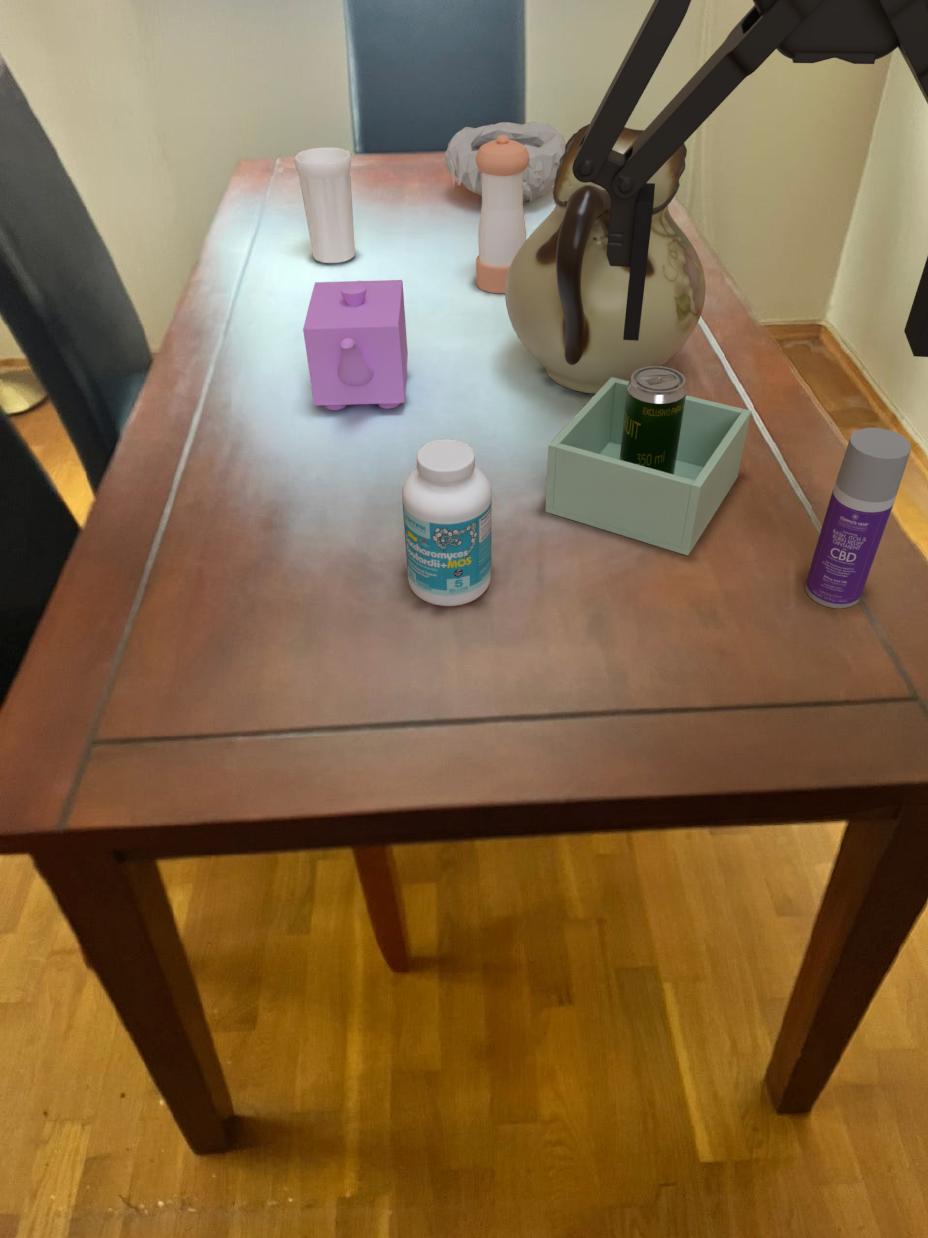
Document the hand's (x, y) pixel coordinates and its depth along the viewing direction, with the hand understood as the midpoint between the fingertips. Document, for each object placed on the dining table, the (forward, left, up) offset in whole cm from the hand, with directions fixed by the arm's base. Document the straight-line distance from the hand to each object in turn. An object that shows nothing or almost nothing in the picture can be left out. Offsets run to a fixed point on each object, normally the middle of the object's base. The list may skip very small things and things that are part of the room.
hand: (771, 336), depth 46 cm
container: (-5, -24, -33) cm, 41 cm away
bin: (+15, -30, -33) cm, 47 cm away
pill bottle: (+25, -9, -33) cm, 42 cm away
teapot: (+51, -33, -33) cm, 69 cm away
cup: (+79, -66, -33) cm, 108 cm away
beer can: (+15, -30, -32) cm, 47 cm away
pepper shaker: (+52, -69, -33) cm, 92 cm away
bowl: (+68, -101, -33) cm, 126 cm away
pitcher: (+29, -51, -33) cm, 67 cm away
